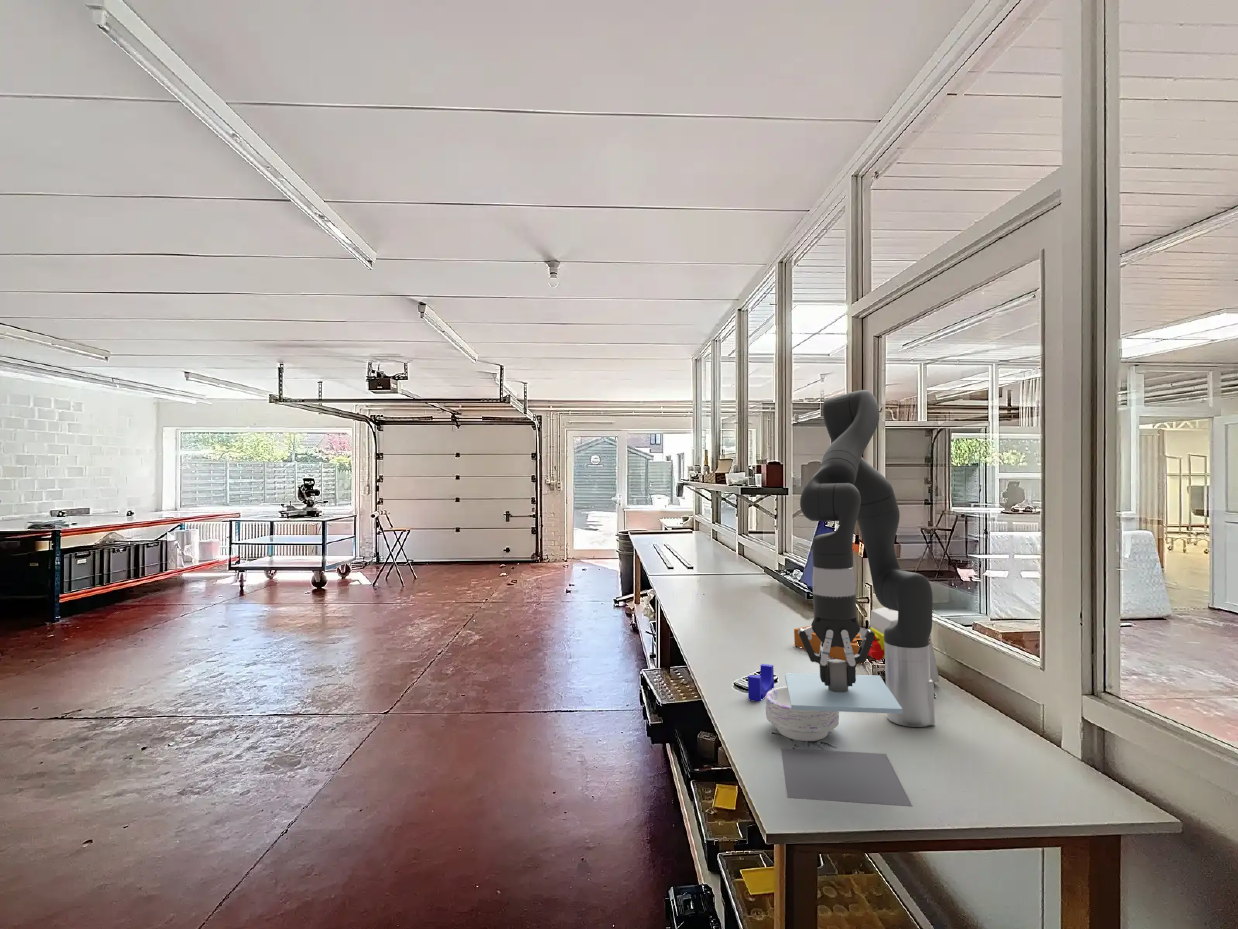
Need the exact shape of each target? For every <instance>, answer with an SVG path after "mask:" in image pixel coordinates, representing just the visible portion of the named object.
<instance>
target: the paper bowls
mask: <svg viewBox="0 0 1238 929" xmlns="http://www.w3.org/2000/svg"><path fill="white" fill-rule="evenodd" d="M764 699H765V716H766V719H767V721H768V722H769V723H770V724H771V725H773V726H775V727H776V730H777V731H778V733H779V734H780V735H782V736H784V737H785V738H788V739H791V740H795V741H804V742H813V741H814V742H815V741H819V740H823V739H824V738H826V737H827V736H828V735H829V732H831V731H833V730H834V729H836V728H838V726H839V724H840V723H839V722H840V721H839V720H840V712H839V711H812V710H792V709H791V704H790V699H789V694H788V689H787V685H786V686H779V687H774V688H773V689H772V690H770V691H768V692H767V694H766V697H765V698H764Z"/></svg>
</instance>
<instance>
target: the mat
mask: <svg viewBox="0 0 1238 929" xmlns="http://www.w3.org/2000/svg"><path fill="white" fill-rule="evenodd" d="M780 749H781V750H780V751H781V757H782V758H781V759H782V765H783V773H784V774H783V775H784V779H785V790H786V797H787V798H789V799H801V800H815V801H829V802H830V801H832V802H843V803H859V804H860V803H861V804H872V805H873V804H874V805H887V806H902V807H904V806H905V807H913V804H912V802H911V800H910V799H909V796H908V794H907V792H906V791H905V789H904V787H903V784H902V783H901V781H900V778H899V776H898V775H897V773H896V771H895V769H894V767H893V765H892V762H891V760H890V759H889V757H888V755H887V753H881V752H880V753H877V752H859V751H840V750H826V749H825V750H822V749H808V748H807V749H804V748H803V749H801V748H786V747H781V748H780Z"/></svg>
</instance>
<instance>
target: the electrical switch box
mask: <svg viewBox="0 0 1238 929" xmlns="http://www.w3.org/2000/svg"><path fill="white" fill-rule="evenodd" d="M897 622H898V611H895V610H891V609H888V608H886V607H884V606H883V607H878V608H875V609H871V611H870V619H869V626H870V627H869V629H871V630H872V631H873V633H874V634H875V637H874V640H873V643H872V646H871V648H870V651H869V653H868V655H869V656H871V657H872V658H875V659H876V660H880V659H882V658H885V647H884V630H885V629H886V628H887V627H890V626H895V625H896V624H897ZM931 634H932V633H931ZM931 634H930V636H929V639H930V642H931V643H930V644H929V657H930V679H931V680H932V681H933V683H939V682H940V676H939V672H938V666H937V662H936V657H935V651H934V645H933V640H932V635H931Z"/></svg>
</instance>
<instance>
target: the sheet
mask: <svg viewBox="0 0 1238 929" xmlns="http://www.w3.org/2000/svg"><path fill="white" fill-rule="evenodd" d="M827 665H828V667H829V686H825V684H824V682H822V681H821V679H820V673H800V672H799V673H798V672H796V673H795V672H784V679H785V684H786V686H787V689H788V694H789V699H790V704H791V709H792V710H812V711H839V713H840V712H841V713H842V712H844V713H845V712H846V713H868V714H869V713H870V714H871V713H872V714H887V713H895V714H903V712H902V708H901V706H900V705H899V703H898V702H897V700H896V699H895V697H894V696H893V694H892V693H891V691H890V690H889V688H888V687H887V685H886V682H885V681H884V680H883V678H882V676H881V675H878V674H875V675H873V674H856V682H855V683H852V686H848V673H847V662H846V661H844V660H839V659H834V658H831V659H829V660H827Z"/></svg>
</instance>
